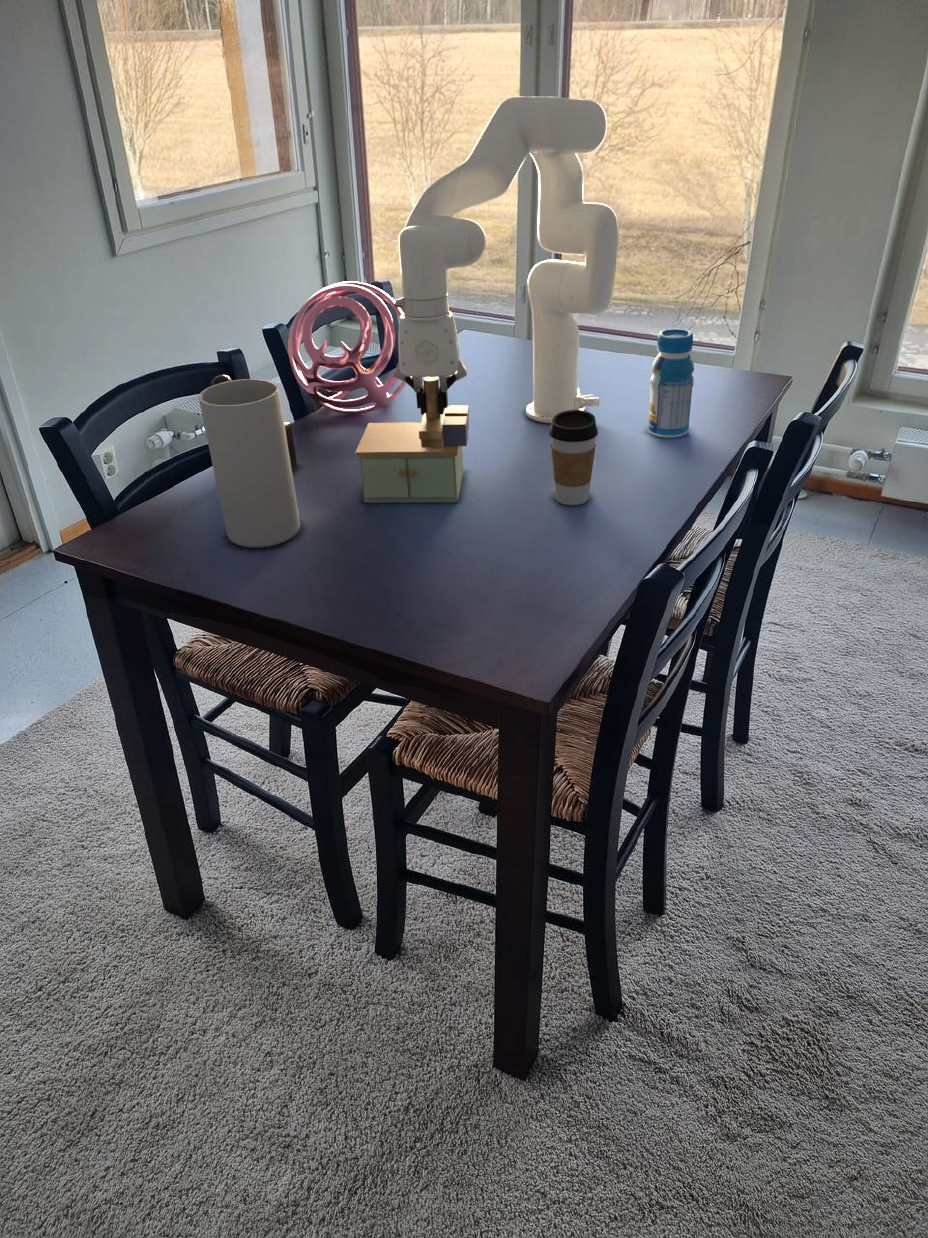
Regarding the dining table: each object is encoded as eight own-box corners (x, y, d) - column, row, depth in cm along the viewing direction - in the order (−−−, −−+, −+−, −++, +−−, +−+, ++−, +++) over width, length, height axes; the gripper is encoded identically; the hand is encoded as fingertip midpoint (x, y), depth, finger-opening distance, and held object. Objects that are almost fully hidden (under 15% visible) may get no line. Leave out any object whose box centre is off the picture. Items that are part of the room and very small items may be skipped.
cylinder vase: (267, 556, 154) (240, 410, 140) (212, 539, 160) (181, 398, 146) (315, 525, 163) (294, 385, 149) (262, 510, 168) (237, 374, 155)
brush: (448, 419, 173) (445, 366, 168) (442, 447, 162) (439, 391, 157) (426, 419, 173) (423, 366, 168) (419, 447, 162) (415, 391, 157)
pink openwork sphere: (335, 292, 220) (296, 245, 194) (445, 327, 216) (419, 283, 189) (296, 405, 222) (251, 373, 195) (404, 442, 217) (373, 414, 190)
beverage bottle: (671, 442, 186) (679, 342, 175) (638, 431, 191) (644, 333, 181) (697, 430, 190) (707, 332, 180) (664, 420, 196) (671, 324, 185)
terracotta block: (468, 426, 171) (468, 405, 169) (467, 434, 168) (467, 413, 166) (447, 426, 172) (446, 405, 169) (445, 434, 168) (444, 413, 166)
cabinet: (466, 471, 179) (463, 421, 173) (459, 505, 166) (456, 453, 161) (373, 471, 181) (368, 422, 175) (360, 505, 168) (354, 454, 163)
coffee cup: (600, 490, 169) (603, 411, 161) (589, 510, 162) (592, 429, 154) (555, 485, 172) (555, 407, 163) (543, 505, 165) (543, 424, 157)
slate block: (468, 437, 167) (467, 415, 165) (466, 446, 164) (465, 424, 161) (446, 437, 167) (444, 416, 165) (443, 446, 164) (442, 424, 162)
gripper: (374, 313, 153) (384, 420, 163) (472, 310, 152) (476, 419, 162) (381, 301, 159) (391, 404, 169) (476, 298, 158) (480, 403, 168)
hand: (433, 410), depth 165 cm, fingers closed on brush, 2 cm apart
